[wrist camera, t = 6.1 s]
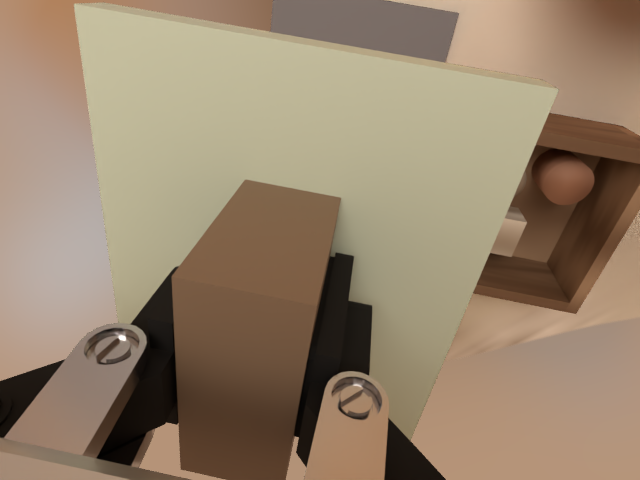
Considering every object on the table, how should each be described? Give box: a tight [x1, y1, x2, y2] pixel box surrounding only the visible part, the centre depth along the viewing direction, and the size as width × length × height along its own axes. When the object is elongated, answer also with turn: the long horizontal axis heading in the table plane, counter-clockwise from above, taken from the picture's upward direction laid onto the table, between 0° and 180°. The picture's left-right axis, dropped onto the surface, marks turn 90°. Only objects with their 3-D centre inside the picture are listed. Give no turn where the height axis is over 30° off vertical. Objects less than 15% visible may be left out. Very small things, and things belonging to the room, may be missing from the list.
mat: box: [271, 0, 459, 63], centre depth 31 cm, size 14×12×1 cm
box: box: [473, 113, 640, 314], centre depth 30 cm, size 12×10×6 cm
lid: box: [74, 3, 559, 480], centre depth 12 cm, size 13×11×7 cm
